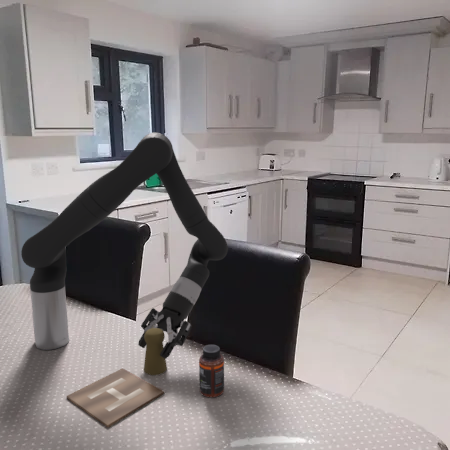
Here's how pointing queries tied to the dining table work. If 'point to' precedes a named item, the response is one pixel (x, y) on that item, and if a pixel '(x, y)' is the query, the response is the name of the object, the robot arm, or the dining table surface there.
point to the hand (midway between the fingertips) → (151, 351)
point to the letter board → (115, 396)
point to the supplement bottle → (211, 371)
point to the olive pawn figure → (154, 352)
